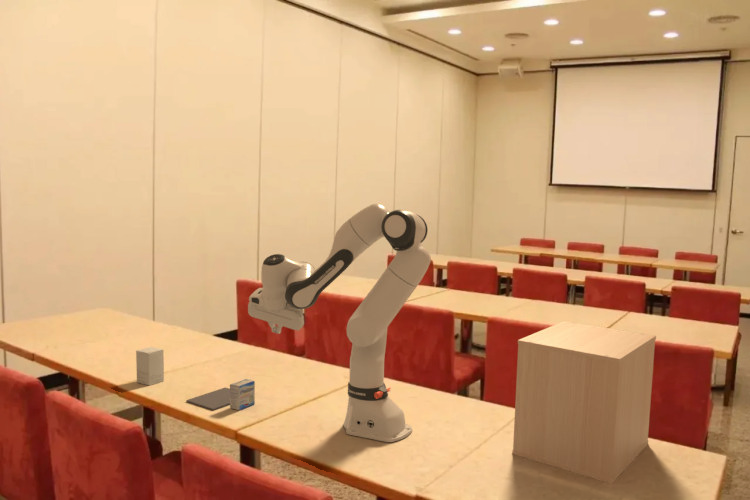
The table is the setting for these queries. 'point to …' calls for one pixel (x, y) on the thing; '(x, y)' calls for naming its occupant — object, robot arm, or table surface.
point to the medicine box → (242, 394)
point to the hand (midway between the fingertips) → (276, 332)
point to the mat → (213, 399)
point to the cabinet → (583, 398)
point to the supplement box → (150, 365)
